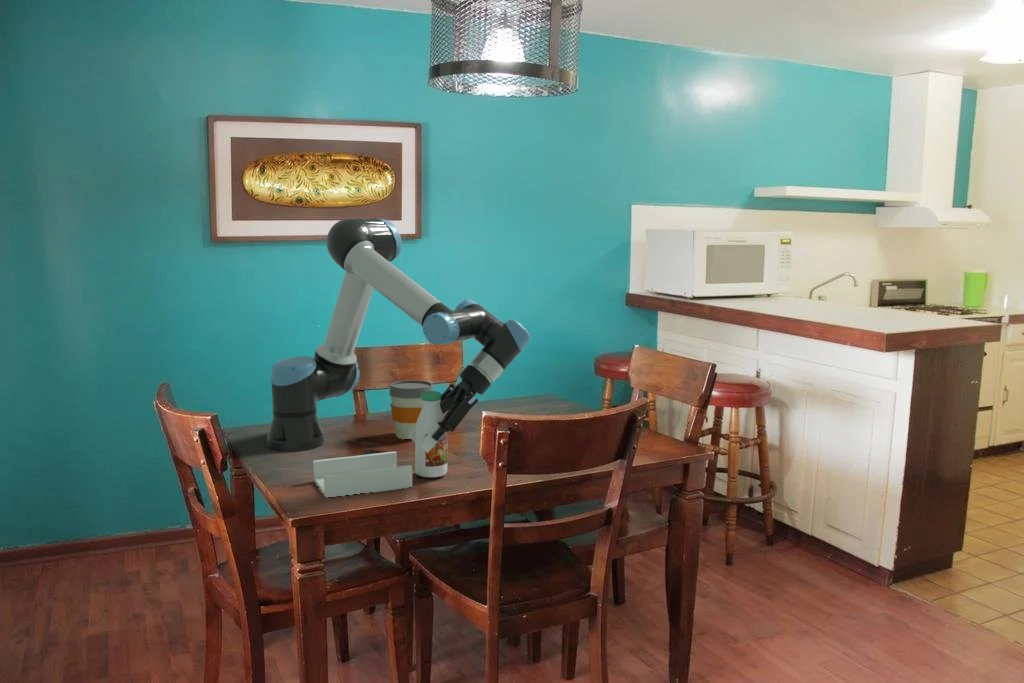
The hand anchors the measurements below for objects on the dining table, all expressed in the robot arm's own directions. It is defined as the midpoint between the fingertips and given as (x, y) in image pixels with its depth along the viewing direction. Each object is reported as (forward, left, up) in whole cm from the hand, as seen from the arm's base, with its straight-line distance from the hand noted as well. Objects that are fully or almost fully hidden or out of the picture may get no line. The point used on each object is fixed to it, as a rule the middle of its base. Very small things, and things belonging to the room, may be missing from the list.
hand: (417, 444), depth 197 cm
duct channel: (0, -14, -8) cm, 16 cm away
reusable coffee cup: (-37, +10, -8) cm, 39 cm away
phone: (-17, -8, -9) cm, 20 cm away
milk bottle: (0, +3, -8) cm, 8 cm away
